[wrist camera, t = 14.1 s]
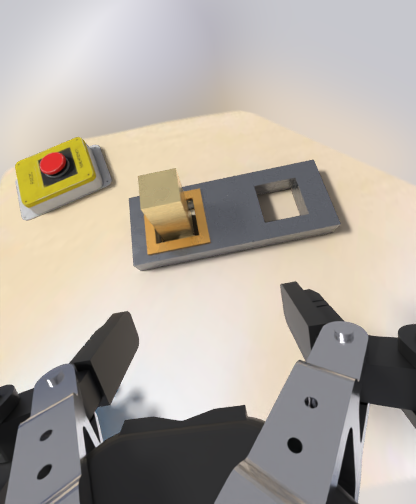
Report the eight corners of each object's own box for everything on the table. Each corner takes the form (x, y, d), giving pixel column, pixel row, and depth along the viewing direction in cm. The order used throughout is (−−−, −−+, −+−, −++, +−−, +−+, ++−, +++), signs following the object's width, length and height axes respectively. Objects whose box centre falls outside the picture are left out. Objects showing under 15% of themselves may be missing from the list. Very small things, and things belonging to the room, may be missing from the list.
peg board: (307, 171, 33) (314, 157, 31) (332, 232, 30) (342, 223, 27) (135, 207, 34) (128, 197, 31) (140, 270, 31) (132, 265, 28)
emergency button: (100, 167, 32) (-1, 210, 31) (115, 185, 36) (26, 224, 36) (85, 124, 35) (-8, 162, 35) (100, 145, 40) (18, 180, 39)
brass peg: (191, 214, 33) (175, 168, 23) (195, 239, 32) (180, 201, 22) (164, 220, 33) (138, 176, 24) (167, 245, 32) (140, 209, 22)
